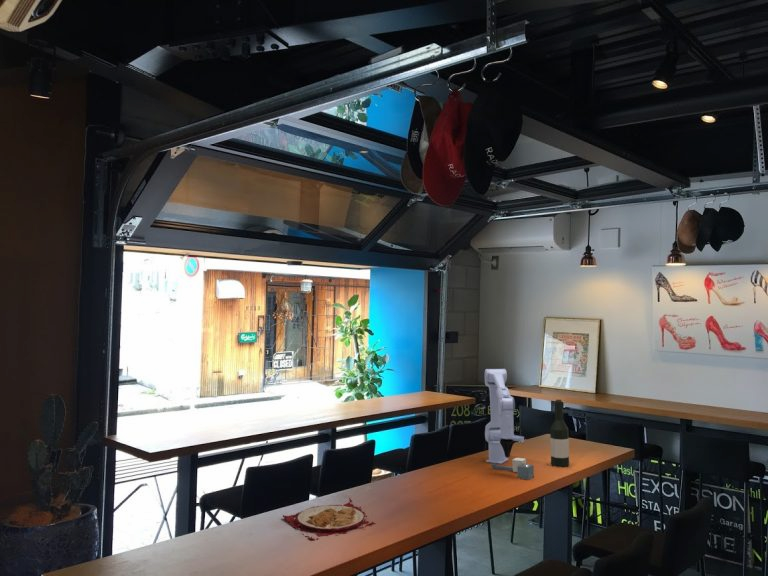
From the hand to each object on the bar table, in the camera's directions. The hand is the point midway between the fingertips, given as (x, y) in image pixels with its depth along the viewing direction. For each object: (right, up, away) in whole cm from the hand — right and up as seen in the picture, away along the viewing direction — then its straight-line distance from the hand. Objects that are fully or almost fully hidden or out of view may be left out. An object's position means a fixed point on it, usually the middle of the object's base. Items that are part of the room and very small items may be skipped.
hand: (507, 456), depth 261 cm
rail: (+3, -8, +6) cm, 11 cm away
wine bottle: (+28, -9, +16) cm, 33 cm away
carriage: (+6, -8, +4) cm, 11 cm away
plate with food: (-72, -7, -58) cm, 92 cm away
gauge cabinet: (+7, -8, -5) cm, 11 cm away
